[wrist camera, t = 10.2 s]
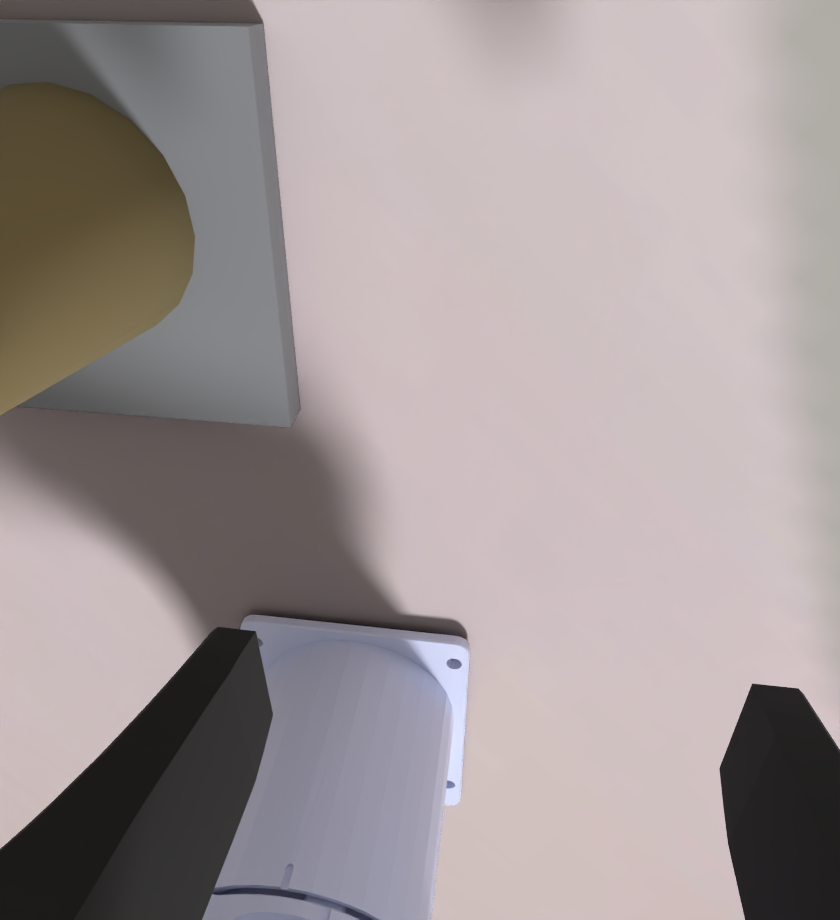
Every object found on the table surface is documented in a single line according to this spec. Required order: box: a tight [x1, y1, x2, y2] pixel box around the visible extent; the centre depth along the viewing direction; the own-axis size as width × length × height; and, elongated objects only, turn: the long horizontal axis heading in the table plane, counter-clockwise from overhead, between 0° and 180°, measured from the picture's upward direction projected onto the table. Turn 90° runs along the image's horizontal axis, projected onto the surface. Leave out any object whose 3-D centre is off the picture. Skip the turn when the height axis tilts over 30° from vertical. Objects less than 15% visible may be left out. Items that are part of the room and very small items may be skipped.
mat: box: [0, 19, 300, 428], centre depth 19 cm, size 10×10×1 cm
